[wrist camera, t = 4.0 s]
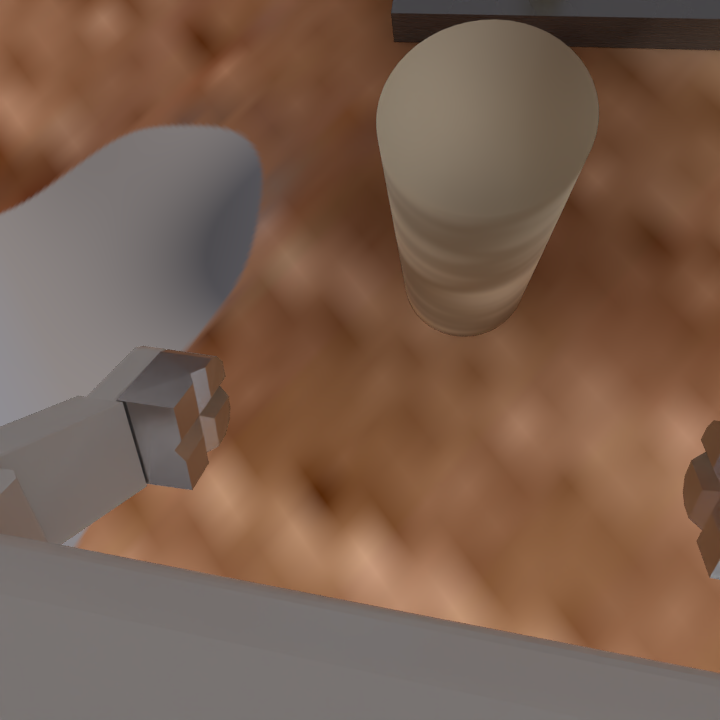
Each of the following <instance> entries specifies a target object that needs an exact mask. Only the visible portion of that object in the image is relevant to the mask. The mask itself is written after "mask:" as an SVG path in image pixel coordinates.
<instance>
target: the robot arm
mask: <svg viewBox="0 0 720 720" xmlns="http://www.w3.org/2000/svg"><path fill="white" fill-rule="evenodd" d="M225 377H226V376H225V371H224V366H223V361H222V360H221V359H219V358H218V357H216V356H210V355H203V354H196V353H190V352H183V351H176V350H170V349H167V350H166V349H161V348H154V347H146V346H141V347H136V348H134V349H133V351H132V352H131V353H130V354H128V355H127V356H126V358H125V359H124V360H122V362H121V363H120V364H118V365H117V366H116V368H115V369H114V370H113V371H112V372H111V373H110V374H109V375H108V376H107V377H106V378H105V379H104V380H103V381H102V382H101V383H100V384H99V385H98V386H97V387H96V388H95V389H94V390H93V391H92V392H91V393H90V394H89V395H88V396H87V397H84V396H76V397H74V398H71V399H69V400H66V401H64V402H61V403H59V404H56V405H54V406H51V407H49V408H46V409H44V410H41V411H39V412H36V413H34V414H31V415H28V416H26V417H24V418H21V419H19V420H16V421H13V422H11V423H8V424H6V425H3V426H1V427H0V720H720V673H717V672H712V671H707V670H701V669H696V668H691V667H686V666H681V665H676V664H671V663H665V662H660V661H655V660H650V659H645V658H640V657H635V656H629V655H624V654H619V653H614V652H609V651H604V650H599V649H593V648H588V647H583V646H578V645H573V644H568V643H563V642H558V641H552V640H547V639H542V638H537V637H532V636H527V635H522V634H516V633H511V632H506V631H501V630H496V629H491V628H486V627H480V626H475V625H470V624H465V623H460V622H455V621H450V620H444V619H439V618H434V617H429V616H424V615H419V614H414V613H408V612H403V611H398V610H393V609H388V608H383V607H378V606H372V605H367V604H362V603H357V602H352V601H347V600H342V599H336V598H331V597H326V596H321V595H316V594H311V593H306V592H300V591H295V590H290V589H285V588H280V587H275V586H270V585H264V584H259V583H254V582H249V581H244V580H239V579H234V578H228V577H223V576H218V575H213V574H208V573H203V572H198V571H192V570H187V569H182V568H177V567H172V566H167V565H162V564H156V563H151V562H146V561H141V560H136V559H131V558H126V557H120V556H115V555H110V554H105V553H100V552H95V551H90V550H84V549H79V548H74V547H69V546H63V545H61V544H63V543H64V542H66V541H67V540H68V539H70V538H71V537H73V536H74V535H76V534H77V533H79V532H80V531H82V530H83V529H85V528H86V527H88V526H89V525H91V524H92V523H93V522H95V521H96V520H98V519H99V518H101V517H102V516H104V515H105V514H107V513H108V512H110V511H111V510H113V509H114V508H116V507H117V506H118V505H120V504H121V503H123V502H124V501H126V500H127V499H129V498H130V497H132V496H133V495H135V494H136V493H138V492H139V491H140V490H142V489H143V488H145V487H146V486H147V484H153V485H160V486H168V487H175V488H182V489H189V490H193V488H194V487H195V485H196V483H197V482H198V480H199V478H200V477H201V475H202V473H203V472H204V470H205V468H206V467H207V465H208V464H209V461H208V456H207V452H209V451H211V450H212V449H214V448H216V447H218V446H219V445H220V443H221V442H222V440H223V438H224V436H225V435H226V431H227V428H228V424H229V420H230V402H229V396H228V395H227V394H226V393H225V391H224V390H223V389H222V388H221V387H220V384H221V383H222V381H223V380H224V378H225ZM701 441H702V443H703V446H704V448H705V451H706V452H705V453H703V454H701V455H700V456H698V457H696V458H695V459H693V460H691V462H690V465H689V467H688V470H687V472H686V474H685V479H684V487H683V498H684V505H685V509H686V512H687V515H688V518H689V519H690V520H691V521H692V522H694V523H695V524H696V525H697V526H698V527H699V528H700V529H701V530H702V532H701V533H700V535H699V537H698V539H697V544H698V547H699V549H700V552H701V555H702V558H703V561H704V564H705V566H706V569H707V572H708V575H709V578H714V579H719V580H720V421H715V420H714V421H713V422H712V423H711V424H710V425H709V426H708V427H707V428H706V430H705V432H704V434H703V436H702V439H701Z"/></svg>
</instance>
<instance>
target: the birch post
mask: <svg viewBox="0 0 720 720" xmlns="http://www.w3.org/2000/svg"><path fill="white" fill-rule="evenodd" d="M598 122H599V104H598V97H597V92H596V89H595V86H594V82H593V80H592V78H591V76H590V74H589V72H588V70H587V68H586V67H585V65H584V64H583V62H582V61H581V59H580V58H579V57H578V56H577V55H576V54H575V53H574V51H573V50H572V49H571V48H569V47H568V46H567V45H566V44H565V43H563V42H562V41H561V40H559V39H558V38H556V37H555V36H553V35H551V34H550V33H548V32H546V31H544V30H541V29H539V28H537V27H534V26H531V25H528V24H525V23H520V22H515V21H510V20H497V19H494V20H478V21H471V22H466V23H462V24H458V25H454V26H452V27H449V28H447V29H444V30H441V31H439V32H437V33H436V34H434V35H432V36H430V37H428V38H427V39H425V40H424V41H422V42H421V43H419V44H418V45H416V46H415V47H414V48H413V49H412V50H411V51H409V52H408V53H407V54H406V55H405V56H404V57H403V58H402V60H401V61H400V62H399V63H398V64H397V65H396V67H395V68H394V70H393V71H392V72H391V74H390V76H389V78H388V79H387V81H386V83H385V85H384V88H383V90H382V93H381V95H380V99H379V103H378V108H377V116H376V129H377V138H378V143H379V149H380V154H381V159H382V165H383V170H384V176H385V181H386V186H387V192H388V197H389V202H390V208H391V213H392V218H393V224H394V229H395V235H396V240H397V245H398V251H399V256H400V261H401V267H402V272H403V277H404V283H405V288H406V293H407V297H408V299H409V302H410V304H411V306H412V308H413V310H414V311H415V312H416V314H417V315H418V316H419V317H420V318H421V319H422V320H423V321H424V322H425V323H426V324H428V325H429V326H431V327H432V328H434V329H436V330H438V331H440V332H442V333H446V334H449V335H454V336H474V335H479V334H483V333H486V332H489V331H491V330H493V329H495V328H496V327H498V326H499V325H501V324H502V323H503V322H505V321H506V320H507V319H508V318H509V317H510V316H511V315H512V313H513V312H514V311H515V309H516V308H517V306H518V304H519V302H520V300H521V298H522V296H523V294H524V291H525V289H526V287H527V285H528V283H529V281H530V279H531V276H532V274H533V272H534V270H535V268H536V266H537V264H538V262H539V259H540V257H541V255H542V253H543V251H544V249H545V247H546V244H547V242H548V240H549V238H550V236H551V234H552V232H553V229H554V227H555V225H556V223H557V221H558V219H559V217H560V215H561V212H562V210H563V208H564V206H565V204H566V202H567V200H568V197H569V195H570V193H571V191H572V189H573V187H574V185H575V182H576V180H577V178H578V176H579V174H580V172H581V170H582V168H583V165H584V163H585V161H586V159H587V157H588V155H589V153H590V150H591V148H592V146H593V143H594V140H595V137H596V134H597V128H598Z"/></svg>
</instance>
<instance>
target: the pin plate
mask: <svg viewBox="0 0 720 720" xmlns="http://www.w3.org/2000/svg"><path fill="white" fill-rule="evenodd" d="M391 16H392V26H393V35H394V42H422V41H424V40H425V39H427V38H428V37H430V36H432V35H434V34H436V33H437V32H439V31H441V30H444V29H447V28H449V27H452V26H454V25H458V24H462V23H466V22H471V21H478V20H494V19H497V20H510V21H515V22H520V23H525V24H528V25H531V26H534V27H537V28H539V29H541V30H544V31H546V32H548V33H550V34H551V35H553V36H555V37H556V38H558V39H559V40H561V41H562V42H563V43H565V44H566V45H567V46H581V47H619V48H656V49H694V50H720V0H393V4H392V11H391Z"/></svg>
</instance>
